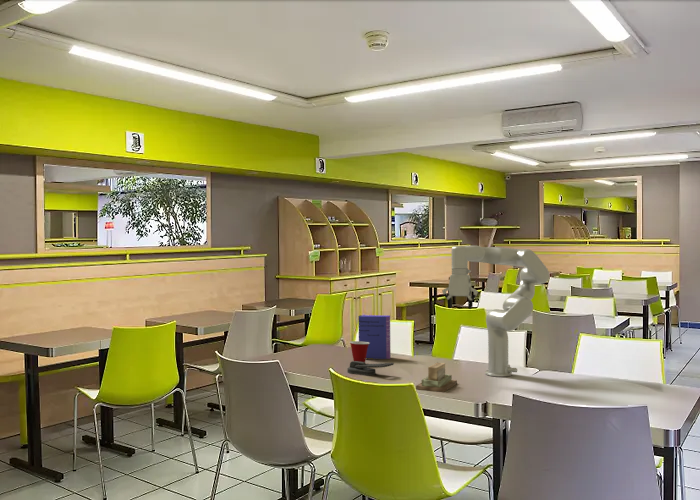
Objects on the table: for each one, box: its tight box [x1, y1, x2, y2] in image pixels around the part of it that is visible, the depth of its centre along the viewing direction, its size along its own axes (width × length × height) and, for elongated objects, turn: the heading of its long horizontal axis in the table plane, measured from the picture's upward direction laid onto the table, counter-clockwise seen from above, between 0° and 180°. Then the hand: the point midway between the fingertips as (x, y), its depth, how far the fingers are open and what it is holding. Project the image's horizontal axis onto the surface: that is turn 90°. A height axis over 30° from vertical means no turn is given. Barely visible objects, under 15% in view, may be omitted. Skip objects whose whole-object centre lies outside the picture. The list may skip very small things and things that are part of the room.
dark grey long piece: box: [347, 360, 395, 377], centre depth 311 cm, size 9×7×25 cm
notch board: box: [415, 373, 458, 393], centre depth 283 cm, size 13×18×4 cm
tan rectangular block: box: [427, 362, 446, 381], centre depth 283 cm, size 4×12×8 cm, turn 153°
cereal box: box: [358, 314, 392, 360], centre depth 355 cm, size 17×5×24 cm, turn 82°
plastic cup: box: [349, 340, 370, 363], centre depth 338 cm, size 11×11×12 cm
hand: (460, 308), depth 299 cm, fingers open, 9 cm apart
